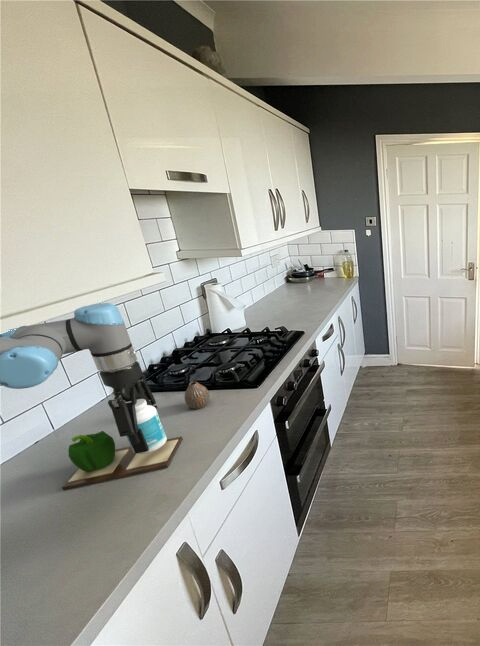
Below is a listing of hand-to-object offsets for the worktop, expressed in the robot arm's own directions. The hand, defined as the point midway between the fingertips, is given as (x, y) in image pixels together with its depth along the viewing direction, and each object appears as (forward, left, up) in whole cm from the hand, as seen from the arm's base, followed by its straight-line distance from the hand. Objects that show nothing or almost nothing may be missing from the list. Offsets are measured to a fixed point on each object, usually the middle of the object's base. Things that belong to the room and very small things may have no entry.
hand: (148, 441), depth 93 cm
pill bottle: (0, 0, -2) cm, 2 cm away
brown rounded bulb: (+5, +24, -6) cm, 25 cm away
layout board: (-6, 0, -5) cm, 8 cm away
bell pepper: (-12, 0, -4) cm, 13 cm away
